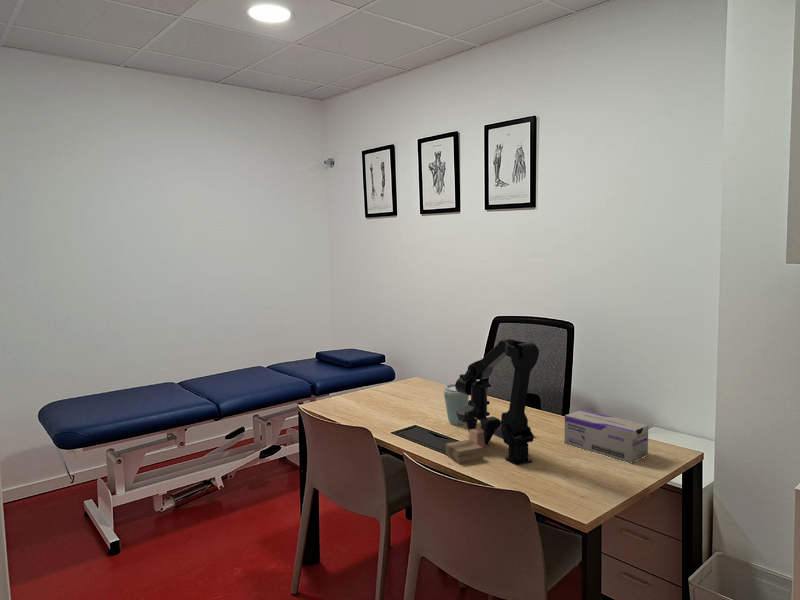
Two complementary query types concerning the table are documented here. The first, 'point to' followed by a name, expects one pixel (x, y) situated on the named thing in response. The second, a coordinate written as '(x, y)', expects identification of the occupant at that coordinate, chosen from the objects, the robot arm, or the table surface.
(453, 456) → the walnut block
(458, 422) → the disposable coffee cup
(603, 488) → the table surface
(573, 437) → the surgical sutures box
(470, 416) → the robot arm
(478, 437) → the terracotta cube
